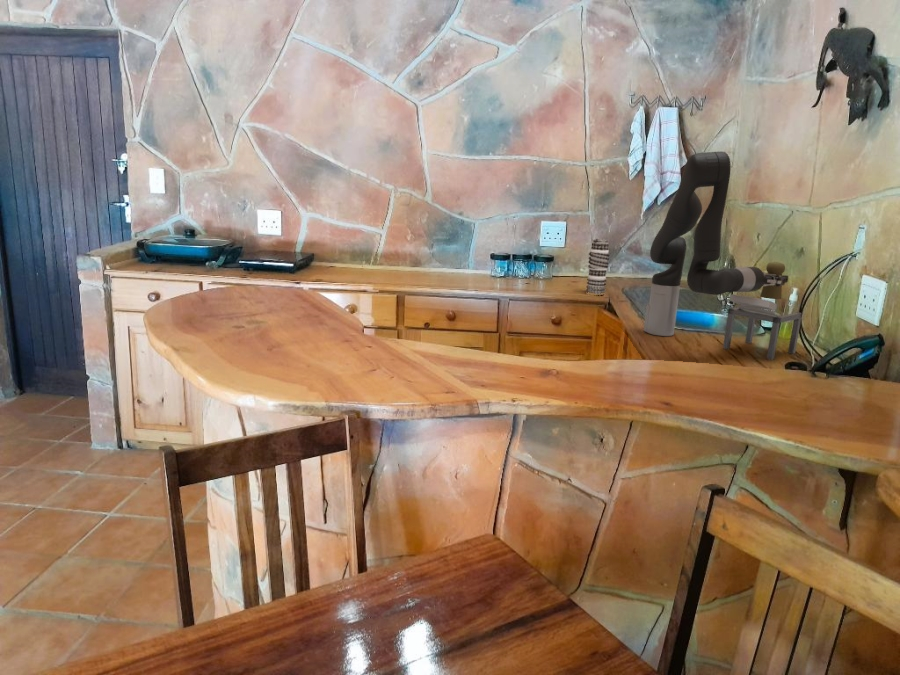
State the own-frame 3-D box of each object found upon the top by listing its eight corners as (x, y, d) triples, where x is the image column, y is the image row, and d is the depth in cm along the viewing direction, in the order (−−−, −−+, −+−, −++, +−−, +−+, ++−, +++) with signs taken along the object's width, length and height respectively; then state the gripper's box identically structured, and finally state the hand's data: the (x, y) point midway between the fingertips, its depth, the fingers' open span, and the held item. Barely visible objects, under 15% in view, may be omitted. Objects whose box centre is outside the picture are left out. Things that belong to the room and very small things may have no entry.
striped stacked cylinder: (584, 295, 292) (589, 239, 286) (586, 292, 300) (591, 237, 294) (604, 297, 289) (610, 240, 283) (606, 293, 298) (611, 239, 292)
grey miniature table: (722, 348, 207) (728, 308, 204) (747, 342, 217) (753, 304, 213) (771, 360, 195) (778, 318, 192) (795, 353, 205) (802, 313, 202)
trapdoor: (728, 303, 199) (731, 294, 199) (753, 316, 211) (756, 306, 211) (767, 310, 190) (770, 300, 190) (790, 323, 202) (793, 313, 202)
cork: (764, 294, 208) (770, 260, 205) (784, 297, 203) (790, 263, 201) (757, 296, 203) (762, 261, 201) (777, 299, 199) (783, 264, 197)
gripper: (766, 270, 188) (803, 269, 196) (726, 263, 200) (762, 262, 208) (762, 296, 190) (799, 293, 198) (722, 287, 202) (758, 285, 210)
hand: (780, 277), depth 203 cm, fingers open, 3 cm apart
